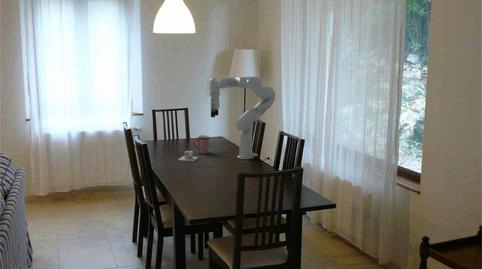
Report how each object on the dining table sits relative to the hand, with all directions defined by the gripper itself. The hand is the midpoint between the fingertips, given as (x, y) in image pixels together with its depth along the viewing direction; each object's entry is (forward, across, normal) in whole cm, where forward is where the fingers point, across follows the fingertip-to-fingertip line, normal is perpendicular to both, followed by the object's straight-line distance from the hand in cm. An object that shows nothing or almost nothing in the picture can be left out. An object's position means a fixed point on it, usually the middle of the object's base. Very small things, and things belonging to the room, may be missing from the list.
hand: (214, 116), depth 403 cm
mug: (+30, +1, +11) cm, 32 cm away
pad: (+30, -22, +14) cm, 40 cm away
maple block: (+29, -22, +14) cm, 39 cm away
